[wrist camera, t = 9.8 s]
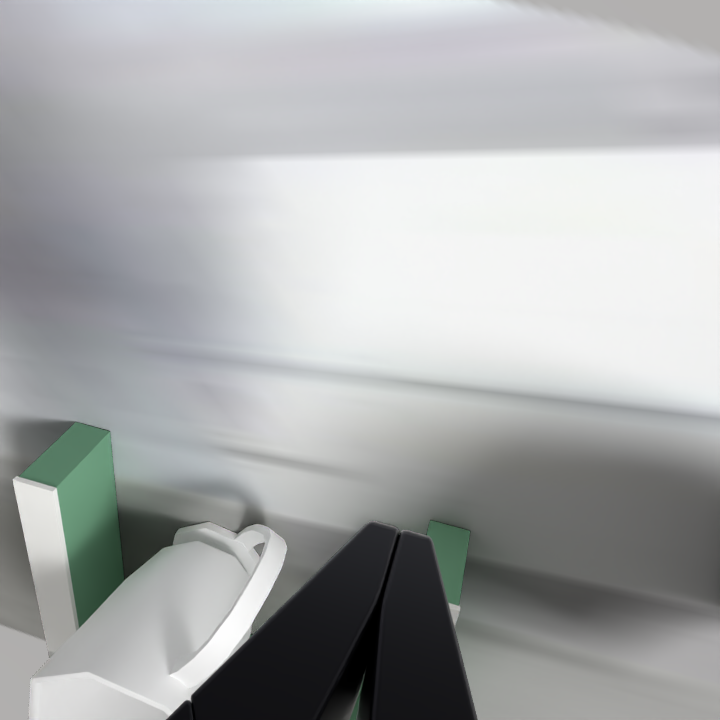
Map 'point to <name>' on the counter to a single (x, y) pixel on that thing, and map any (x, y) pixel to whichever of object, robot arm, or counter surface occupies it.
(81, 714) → the cup
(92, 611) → the pocket
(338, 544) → the counter surface
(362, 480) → the counter surface
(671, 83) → the counter surface
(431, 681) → the robot arm
